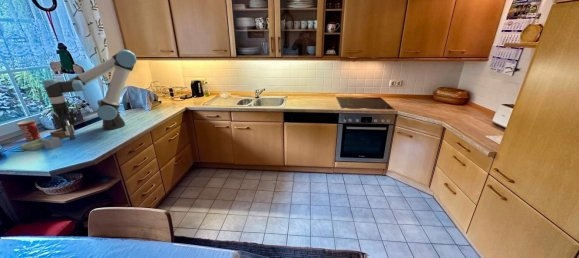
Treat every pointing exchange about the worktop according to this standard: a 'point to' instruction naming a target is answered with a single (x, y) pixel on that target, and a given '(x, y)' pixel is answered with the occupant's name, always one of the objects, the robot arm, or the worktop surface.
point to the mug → (29, 130)
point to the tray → (33, 145)
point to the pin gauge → (69, 130)
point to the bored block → (59, 134)
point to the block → (52, 143)
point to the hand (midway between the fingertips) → (70, 134)
